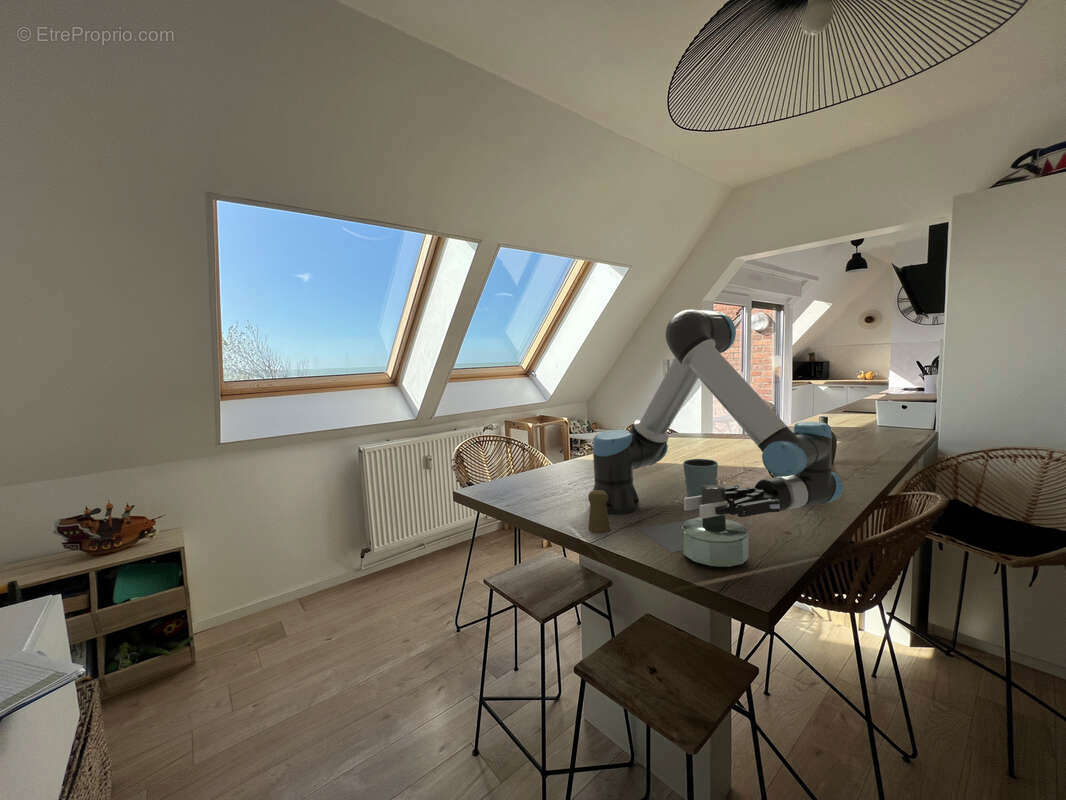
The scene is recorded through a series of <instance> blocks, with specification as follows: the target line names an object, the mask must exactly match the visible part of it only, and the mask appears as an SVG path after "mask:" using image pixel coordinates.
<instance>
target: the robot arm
mask: <svg viewBox="0 0 1066 800" xmlns="http://www.w3.org/2000/svg"><path fill="white" fill-rule="evenodd" d="M736 330H737V329H736V325H735V322H734V321H733V320H732V319H731V317H730V316H729V315H727V314H726V313H724V312H721V311H717V310H714V309H710V310H703V309H701V310H700V309H699V310H698V309H684V310H682V311H680V312H678V313H676V314H674V315H673V317H671V318H670V320H669V322H668V324H667V326H666V329H665V340H666V344H667V346H668V349H669V351H670V352H671V353H672V355H673V356H674V358H673V360H672V362H671V363H670V366H669V368H668V369H667V371H666V374H665V375H664V376H663V378H662V379H661V383H660V384H659V386H658V387H657V389H656V391H655V394H654V395H653V397H652V399H651V400H650V403H649V404H648V407H647V408H646V410H645V412H644V414H643V416H642V417H641V418H637V419H635V421H634V422H633V424H632V426H631V427H630V428H629V430H626V429H612V430H606V431H603V432H599V433H598V434H596V435H595V436H594V438H593V439H592V440H593V441H592V442H593V443H592V457H593V473H594V483H593V484H594V485H593V488H592V491H593V490H603V491H605V492H606V493H607V496H608V501H607V502H606V507H607V513H608V516H609V515H610V516H612V515H613V516H614V515H615V516H618V515H619V516H620V515H628V514H632V513H635V512H637V511H639V510H640V509H641V502H640V498H639V496H638V492H637V490H636V487H635V484H634V470H637V469H640V468H643V467H647V466H652V465H655V464H656V463H658V462H660V461H662V460H663V459H664V458H665V456H666V455H667V452H668V448H669V445H668V440H669V437H670V436H669V433H668V430H670V427H671V425H672V424H673V422H674V420H675V419H676V416H677V415H678V414H679V412H680V410H681V408H682V407H683V405H684V403H685V401H686V400H687V398H688V396H689V395H690V392H691V391H692V389H693V388H694V386H695V384H696V383H697V381H698V380H700V381H701V382H702V383H703V385H704V386H705V387H706V388H707V389H708V391H709V392H710V393H711V394H712V395H713V396H714V397H715V399H716V400H717V401H718V402H719V403H720V404H721V406H722V407H723V408H724V409H725V410H726V412H727V413H728V414H730V416H731V417H732V418H733V419H734V421H736V423H737V424H738V425H739V426H740V427H741V429H742V430H743V431H744V432H745V433H746V434H747V436H748V437H749V438H750V439H751V440H752V441H753V442H754V444H756V446H757V447H758V448H759V450H760V451H761V453H762V454H761V459H762V462H763V463H762V464H763V466H764V468H765V469H766V470H767V472H768V471H769V472H771V474H772V475H773V474H774V475H777V476H780V477H776V478H772V477H771V478H763V479H761V480H759V481H757V483H756V484H755V486H748V487H745V488H740V485H737V484H734V485H731V486H727V487H725V486H724V487H725V501H722V502H716V503H709V504H703V505H702V495H700V496H694V497H684V498H683V510H684V511H685V512H686V511H693V510H699V517H700V518H702V519H703V518H709V517H715V516H720V515H726V516H727V515H728V514H729V515H731V516H734V515H737V517H739V518H746V517H751V516H756V515H761V514H768V513H779V512H782V511H786V510H788V511H792V510H793V509H797V508H803V507H808V506H816V505H824V504H828V503H831V502H834V501H837V500H839V499H840V498H841V496H842V495H843V493H844V484H843V483H842V481H841V477H840V476H839V475H838V474H837V473H836V472H834V471H832V451H833V450H832V445H833V443H832V441H833V437H832V427H831V426H830V425H829V423H826V422H821V421H800V422H797V423H795V424H794V426H793V431H792V430H791V429H790V428H789V427H788V426H787V425H786V423H785V422H784V421H783V420H782V419H781V418H780V417H779V416H778V415H777V413H776V412H775V411H774V410H773V409H772V408H771V407H770V406H769V405H768V404H767V402H766V401H765V400H764V399H763V398H762V397H761V396H760V395H759V394H758V393H757V392H756V391H755V389H754V388H753V387H752V386H751V385H750V384H749V382H747V381H746V380H745V379H744V378H743V377H742V375H741V374H740V373H739V372H738V371H737V369H735V368H734V366H733V365H732V364H731V363H730V362H729V361H728V360H727V359H726V358H725V357H724V356H723V355H722V354H723V353H724V352H726V351H727V350H729V349H730V348H731V347H732V345H734V343H735V341H736V336H737V331H736ZM769 472H768V473H769ZM590 504H591V503H590V502H589V505H590Z"/></svg>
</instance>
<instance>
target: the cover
mask: <svg viewBox="0 0 1066 800" xmlns="http://www.w3.org/2000/svg"><path fill="white" fill-rule="evenodd" d="M722 501H725V486H723V485H718V484H717V485H704V486H702V505H703V504H709V503H716V502H722ZM726 517H727V514H726V515H720V516H715V517H709V518H703V519H702V518H700V516H698V517H694V518H689V519H687V521H686V520H684V521H685V522H684V523H683V527H682V539H683V551H682V553H683V555H684V556H685V557H687V558H688V559H690V560H691V561H693V562H694V563H699V564H702V565H707V566H710V567H717V566H723V568H724V567H725V568H727V567H728V568H729V567H733V566H734V567H735V566H740V565H743V564H744V563H745V562H747V560H748V559H749V552H750V551H749V533H748V530H747V527H745V525H743V524H742V523H740V522H737V521H734V520H732V519H728V518H726Z"/></svg>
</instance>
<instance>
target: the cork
mask: <svg viewBox="0 0 1066 800" xmlns="http://www.w3.org/2000/svg"><path fill="white" fill-rule="evenodd" d="M587 498H588V499H587V500H588V502H589V517H588V528H587V529H588V531H589V532H591V533H595V534H605V533H608V532H610V531H611V526H610V525H611V524H610V519H609V514H608V513H607V507H606V502H607V501H608V496H607V493H606V492H605V491H603V490H593V489H592V491H590V492H589V493H588V495H587ZM590 503H591V504H590Z"/></svg>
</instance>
